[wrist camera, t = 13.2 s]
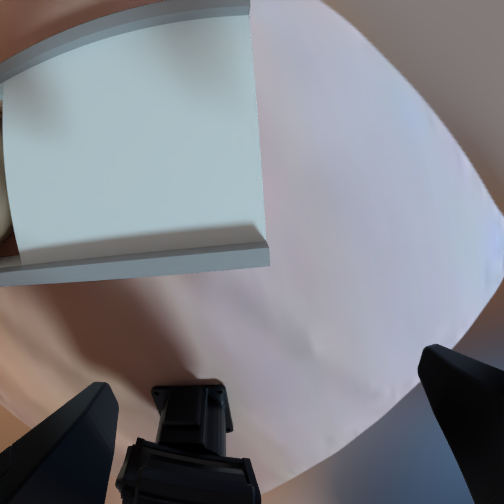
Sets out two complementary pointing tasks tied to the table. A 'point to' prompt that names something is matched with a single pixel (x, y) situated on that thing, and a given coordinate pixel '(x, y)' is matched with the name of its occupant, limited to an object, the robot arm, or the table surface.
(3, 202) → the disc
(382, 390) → the table surface
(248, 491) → the robot arm
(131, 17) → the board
